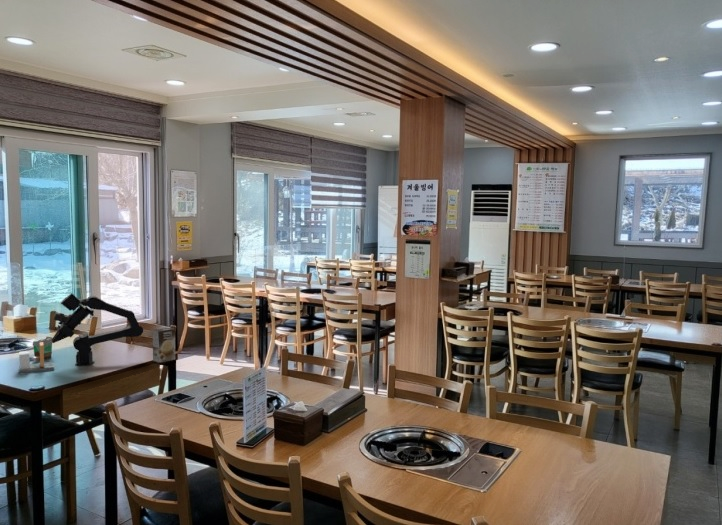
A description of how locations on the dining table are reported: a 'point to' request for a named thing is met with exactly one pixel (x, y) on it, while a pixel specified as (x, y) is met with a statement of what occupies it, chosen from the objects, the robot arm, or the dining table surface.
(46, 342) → the food container
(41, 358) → the tan trapezoid block
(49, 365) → the bearing base
